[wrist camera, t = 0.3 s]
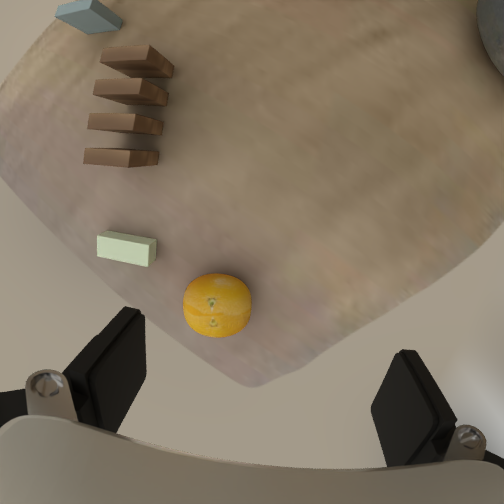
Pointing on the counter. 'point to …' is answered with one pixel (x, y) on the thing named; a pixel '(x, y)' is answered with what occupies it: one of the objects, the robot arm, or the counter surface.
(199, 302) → the fruit
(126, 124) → the domino
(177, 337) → the counter surface
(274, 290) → the counter surface
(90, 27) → the domino
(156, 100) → the domino
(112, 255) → the block
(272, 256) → the counter surface
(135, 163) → the domino
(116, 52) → the domino
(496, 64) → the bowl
